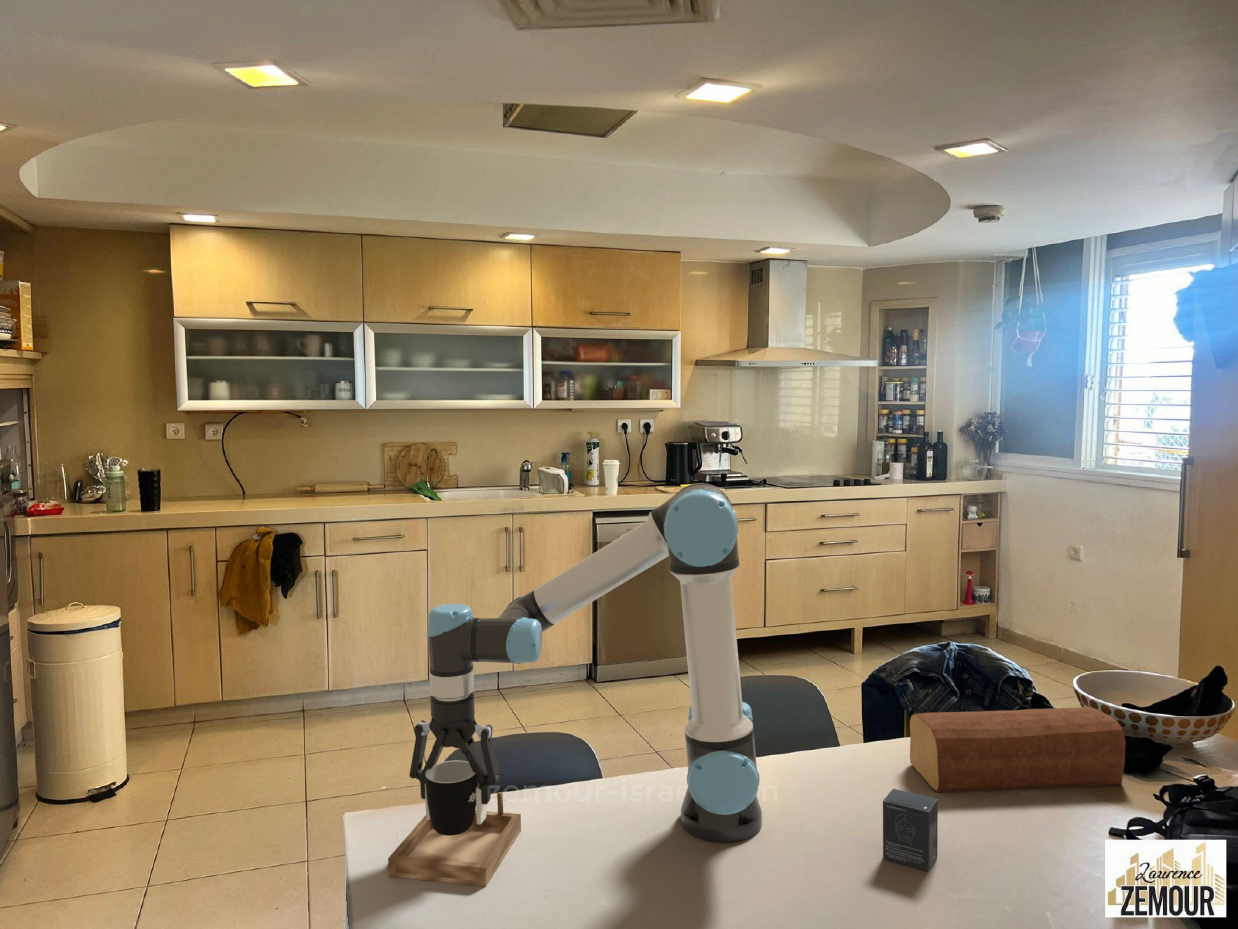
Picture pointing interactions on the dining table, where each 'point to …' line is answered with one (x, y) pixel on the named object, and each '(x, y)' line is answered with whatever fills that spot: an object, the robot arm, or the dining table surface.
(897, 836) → the box
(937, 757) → the bread
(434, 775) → the mug
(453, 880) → the rack
